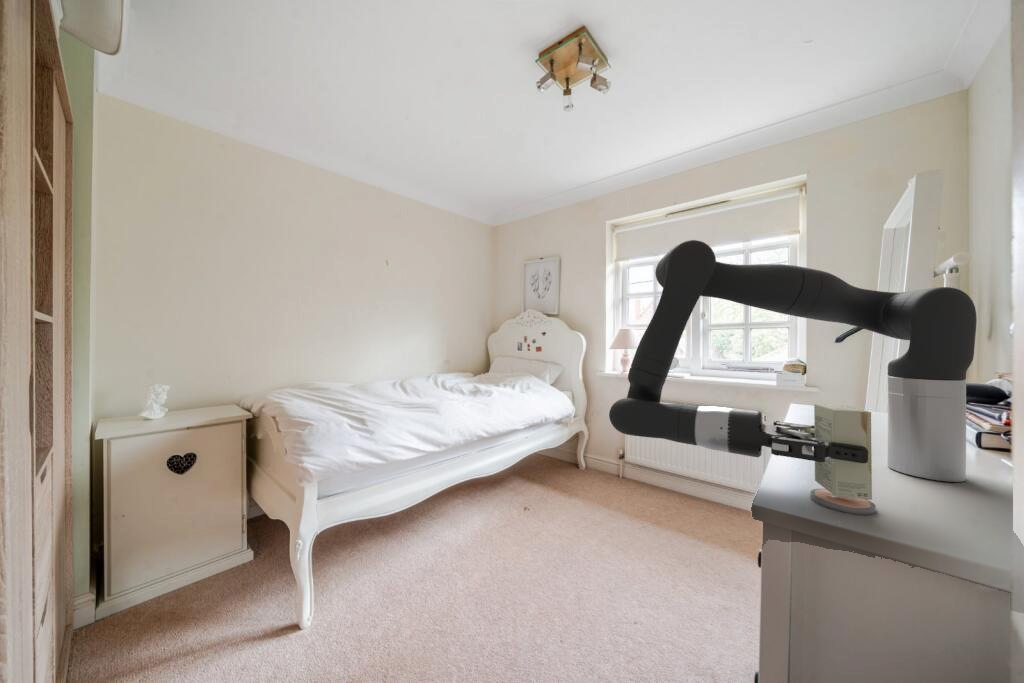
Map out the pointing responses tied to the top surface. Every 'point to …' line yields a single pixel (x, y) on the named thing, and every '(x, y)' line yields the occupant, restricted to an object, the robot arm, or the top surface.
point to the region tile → (843, 502)
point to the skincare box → (846, 429)
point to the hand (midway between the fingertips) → (862, 448)
